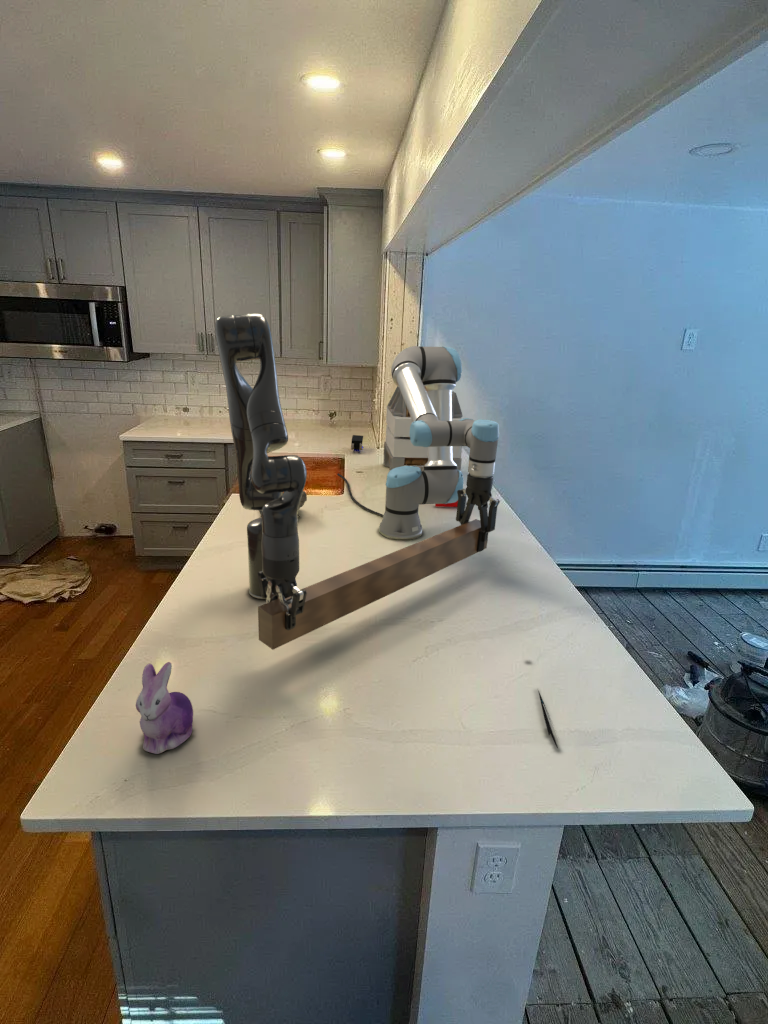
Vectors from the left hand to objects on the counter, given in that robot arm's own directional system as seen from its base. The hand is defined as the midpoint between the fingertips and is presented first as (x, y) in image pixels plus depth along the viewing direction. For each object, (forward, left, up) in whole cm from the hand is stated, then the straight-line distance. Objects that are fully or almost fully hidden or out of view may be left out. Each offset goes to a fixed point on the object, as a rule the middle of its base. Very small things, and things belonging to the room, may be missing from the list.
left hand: (282, 623), depth 122 cm
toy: (-105, +80, -10) cm, 132 cm away
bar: (-18, +31, -3) cm, 36 cm away
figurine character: (-188, +64, -10) cm, 199 cm away
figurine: (+18, -23, -10) cm, 31 cm away
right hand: (-36, +62, -3) cm, 71 cm away
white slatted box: (-141, +83, -10) cm, 164 cm away
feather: (+25, +49, -10) cm, 56 cm away
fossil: (-92, +14, -10) cm, 93 cm away
